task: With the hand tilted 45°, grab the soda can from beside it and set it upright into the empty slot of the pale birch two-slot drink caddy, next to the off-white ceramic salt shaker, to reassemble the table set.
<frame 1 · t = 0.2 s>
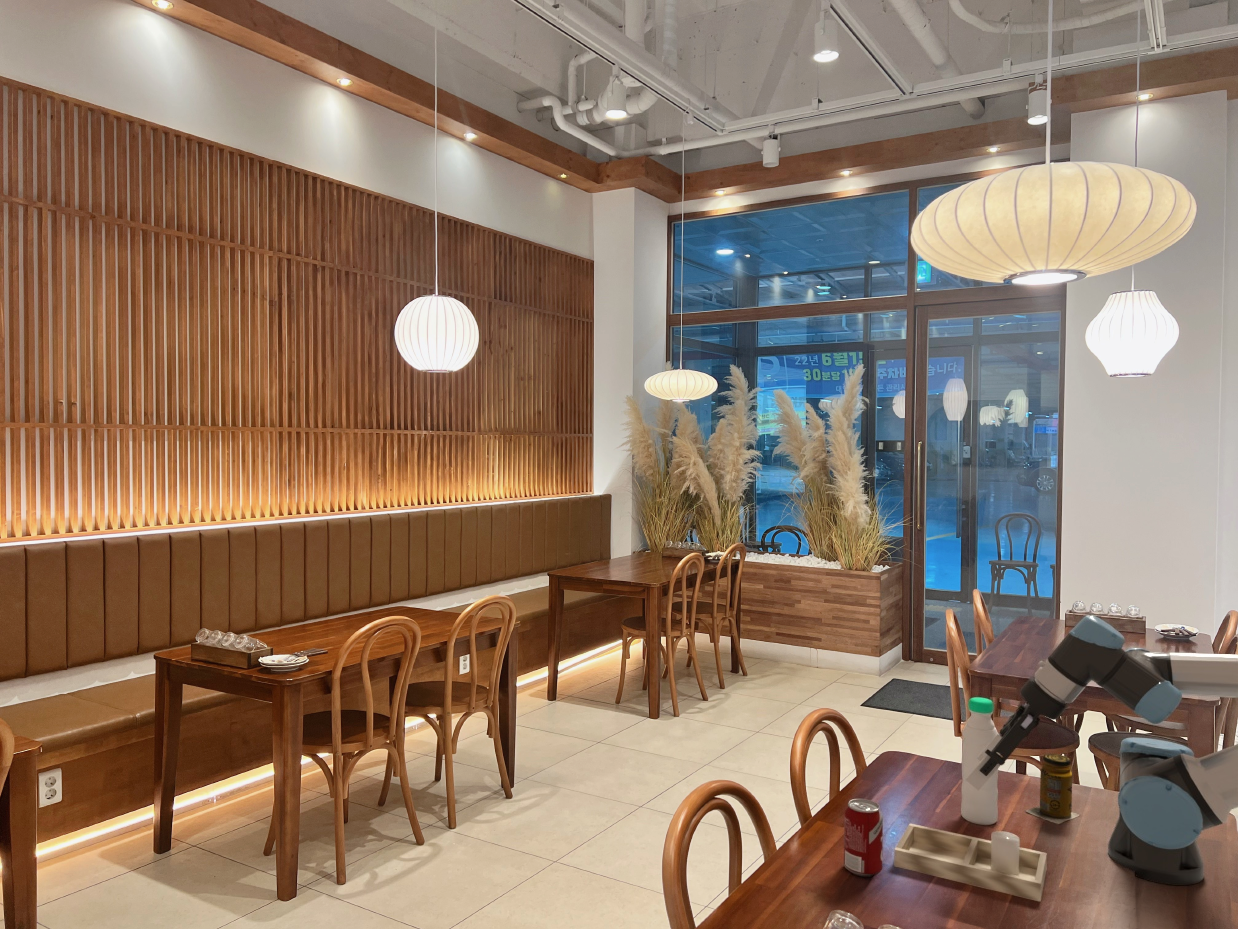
hand: (977, 773, 164), 16 cm above the table, tool tilted 35°, fingers open, 13 cm apart
salt shaker: (1004, 875, 155), point 1 cm above the table, touching drink caddy
condiment: (1052, 815, 184), on the table
drink caddy: (970, 873, 158), on the table
water bottle: (979, 820, 181), on the table
soda can: (862, 871, 158), on the table
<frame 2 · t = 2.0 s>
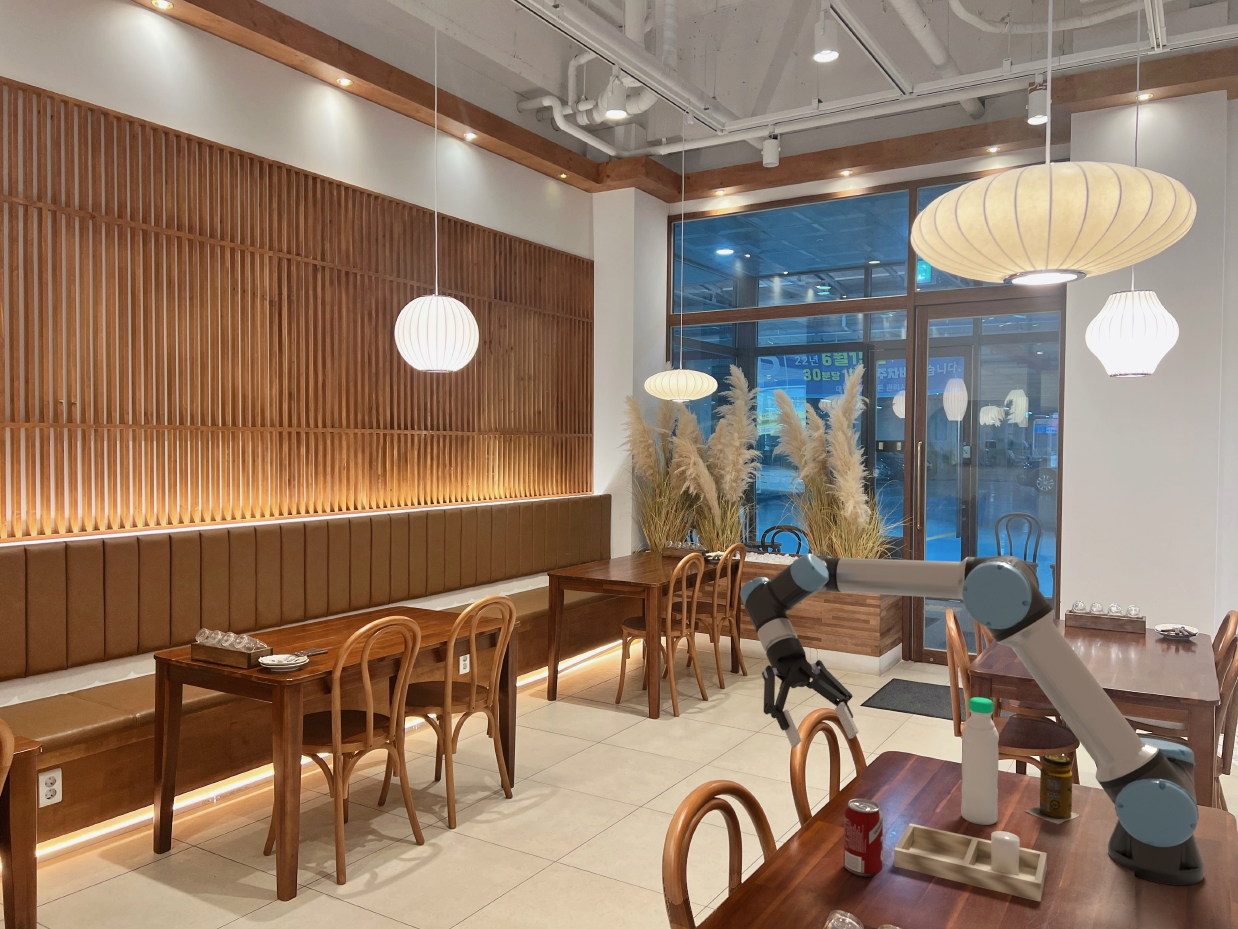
hand: (826, 740, 168), 20 cm above the table, tool tilted 45°, fingers open, 13 cm apart
nothing on the table moved.
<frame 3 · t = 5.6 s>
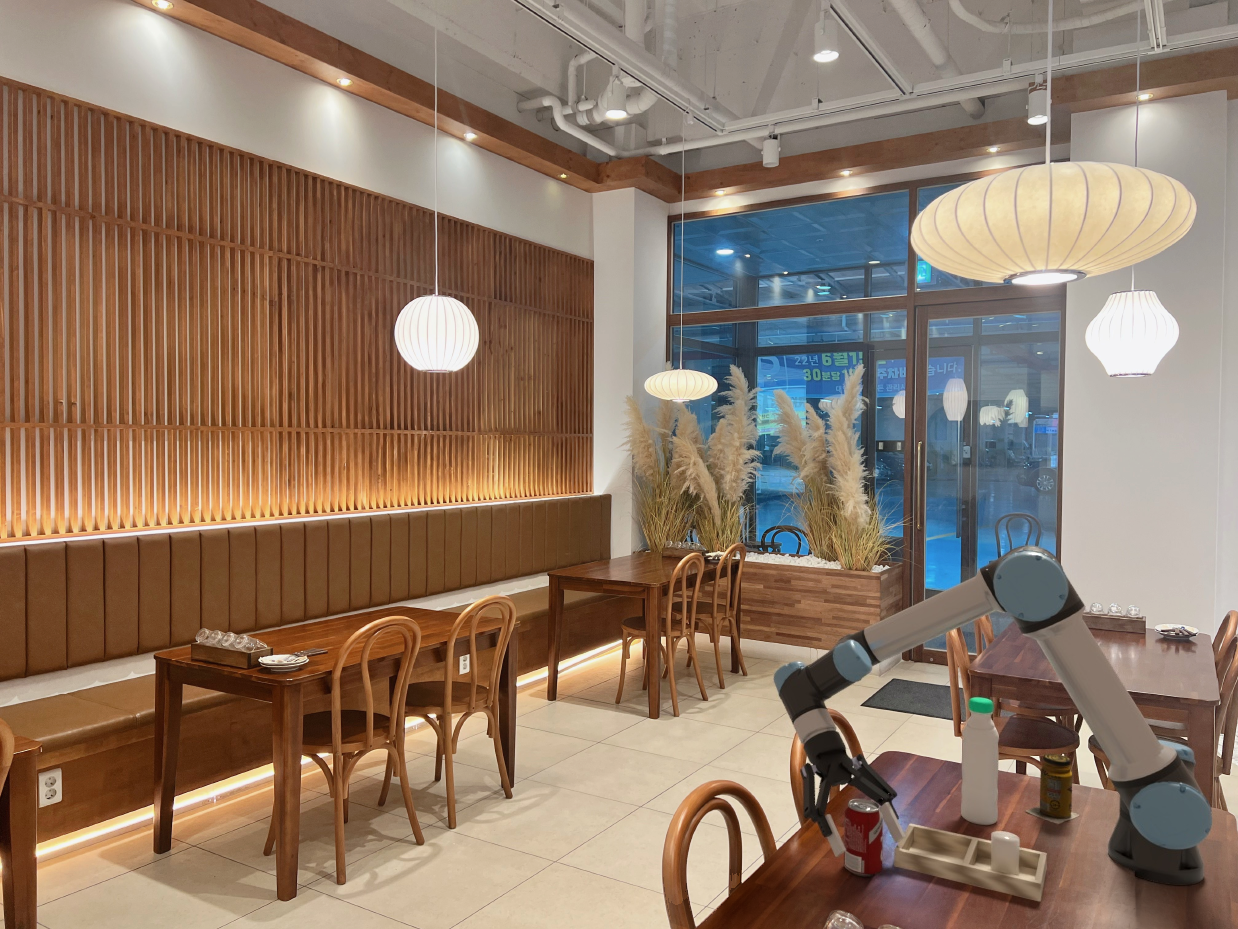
hand: (871, 846, 156), 5 cm above the table, tool tilted 45°, fingers open, 13 cm apart
nothing on the table moved.
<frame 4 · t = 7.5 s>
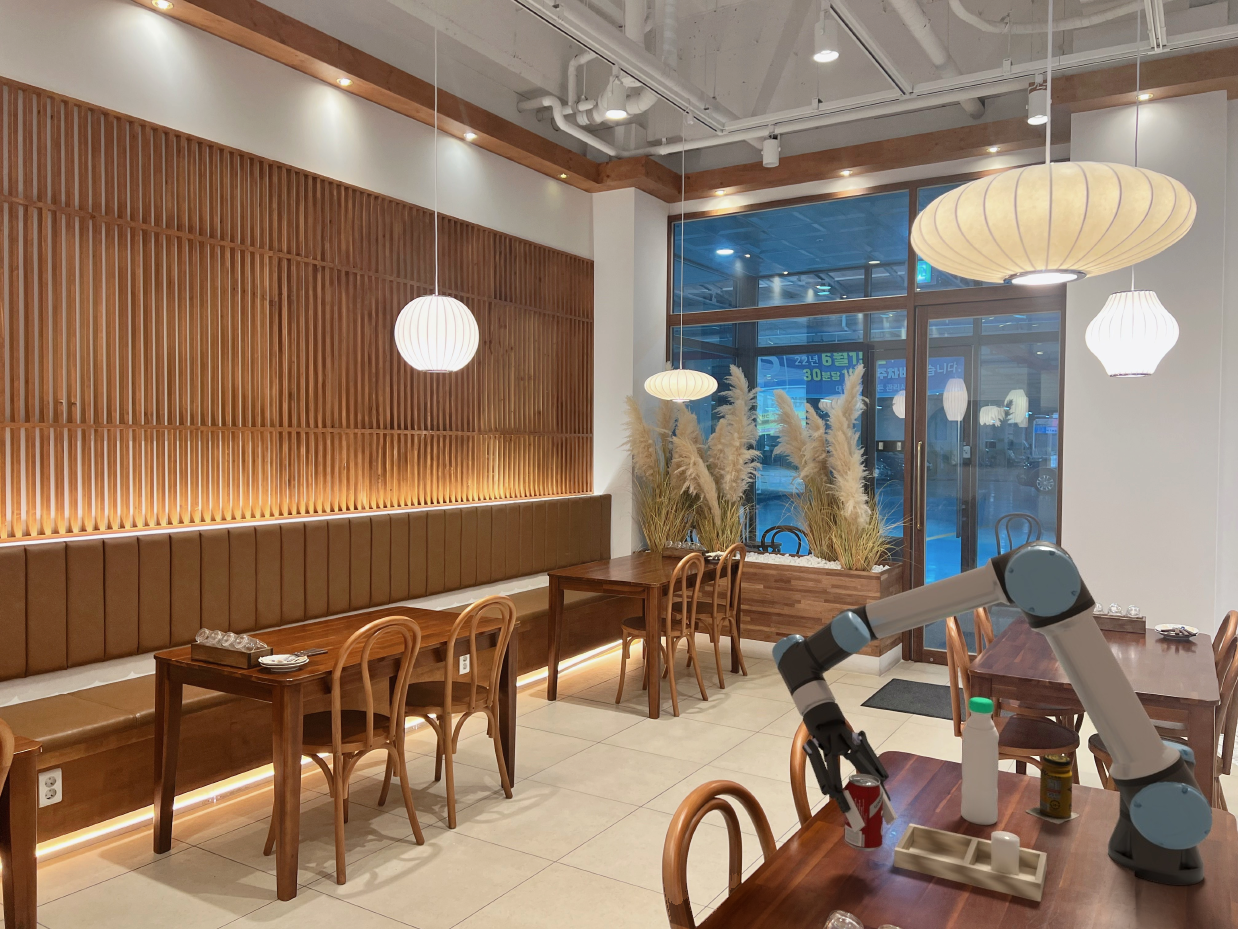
hand: (876, 825, 155), 10 cm above the table, tool tilted 45°, fingers closed on soda can, 7 cm apart
soda can: (862, 846, 158), point 4 cm above the table, touching gripper
everything else where it was.
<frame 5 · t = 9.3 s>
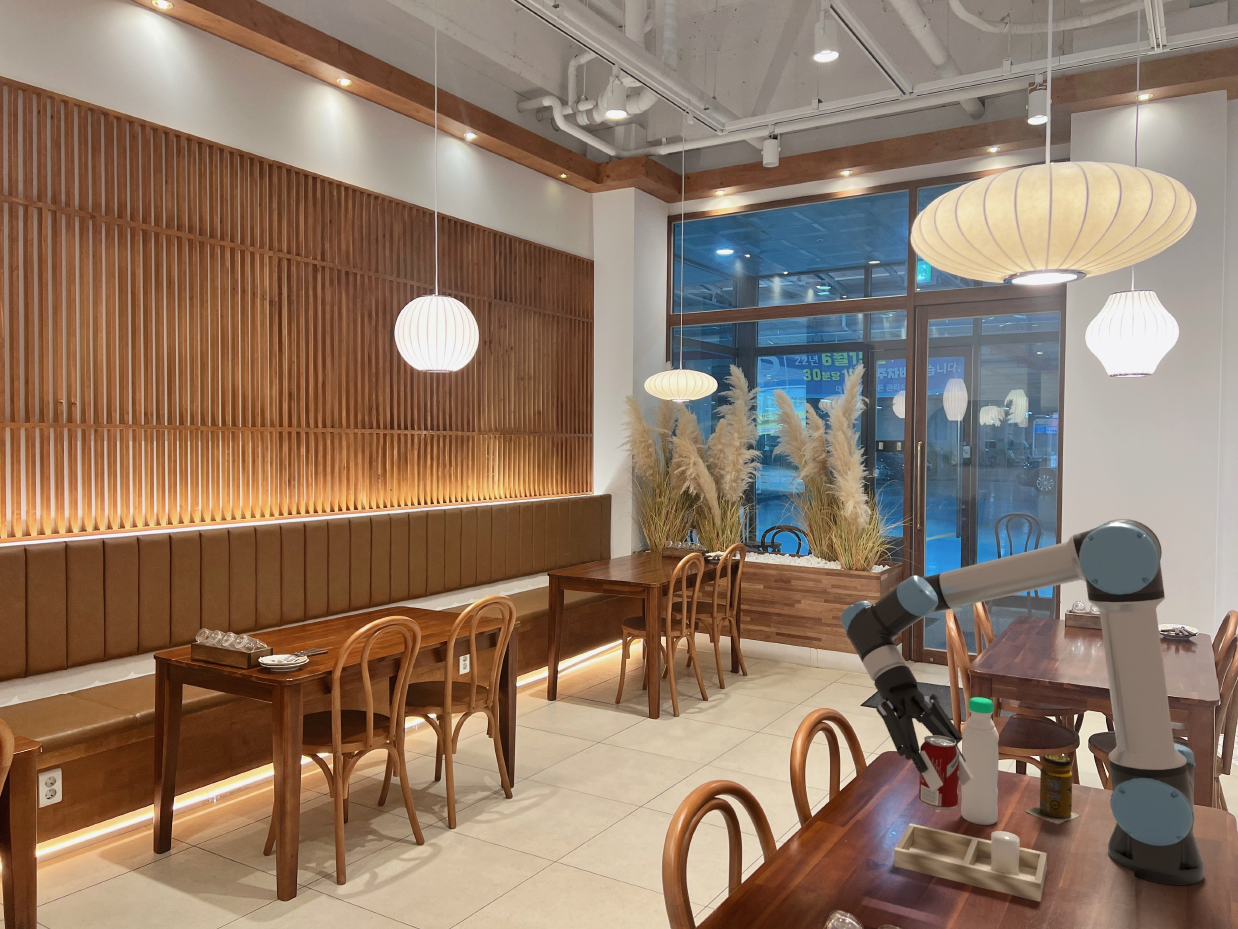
hand: (953, 784, 157), 16 cm above the table, tool tilted 45°, fingers closed on soda can, 7 cm apart
soda can: (938, 806, 160), point 11 cm above the table, touching gripper
everything else where it was.
when the fingers open (6 cm above the table, at t = 11.5 s): soda can stays where it is, resting on drink caddy.
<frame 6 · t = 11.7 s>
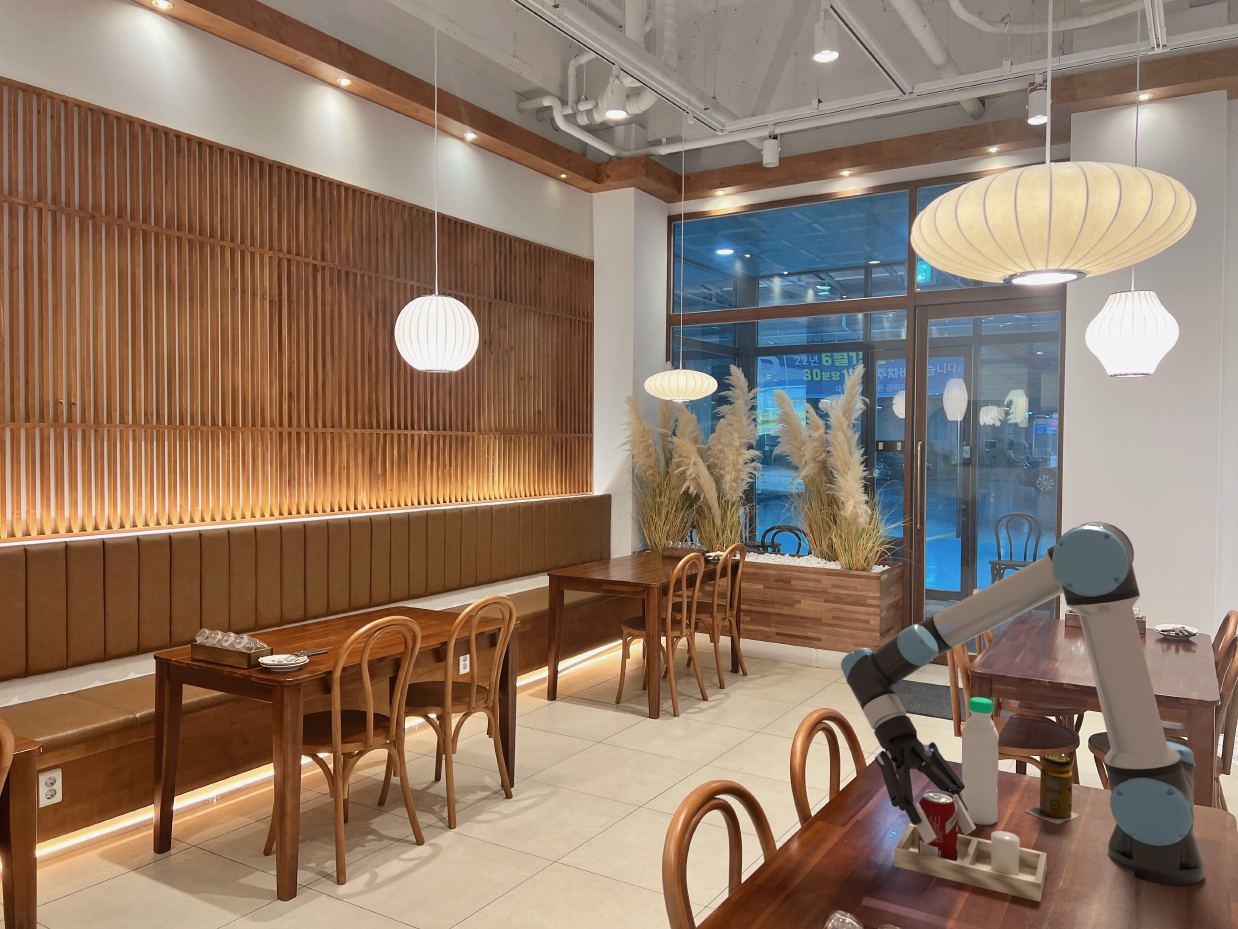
hand: (950, 836, 157), 7 cm above the table, tool tilted 45°, fingers open, 9 cm apart
soda can: (937, 861, 160), point 1 cm above the table, touching drink caddy
everything else where it was.
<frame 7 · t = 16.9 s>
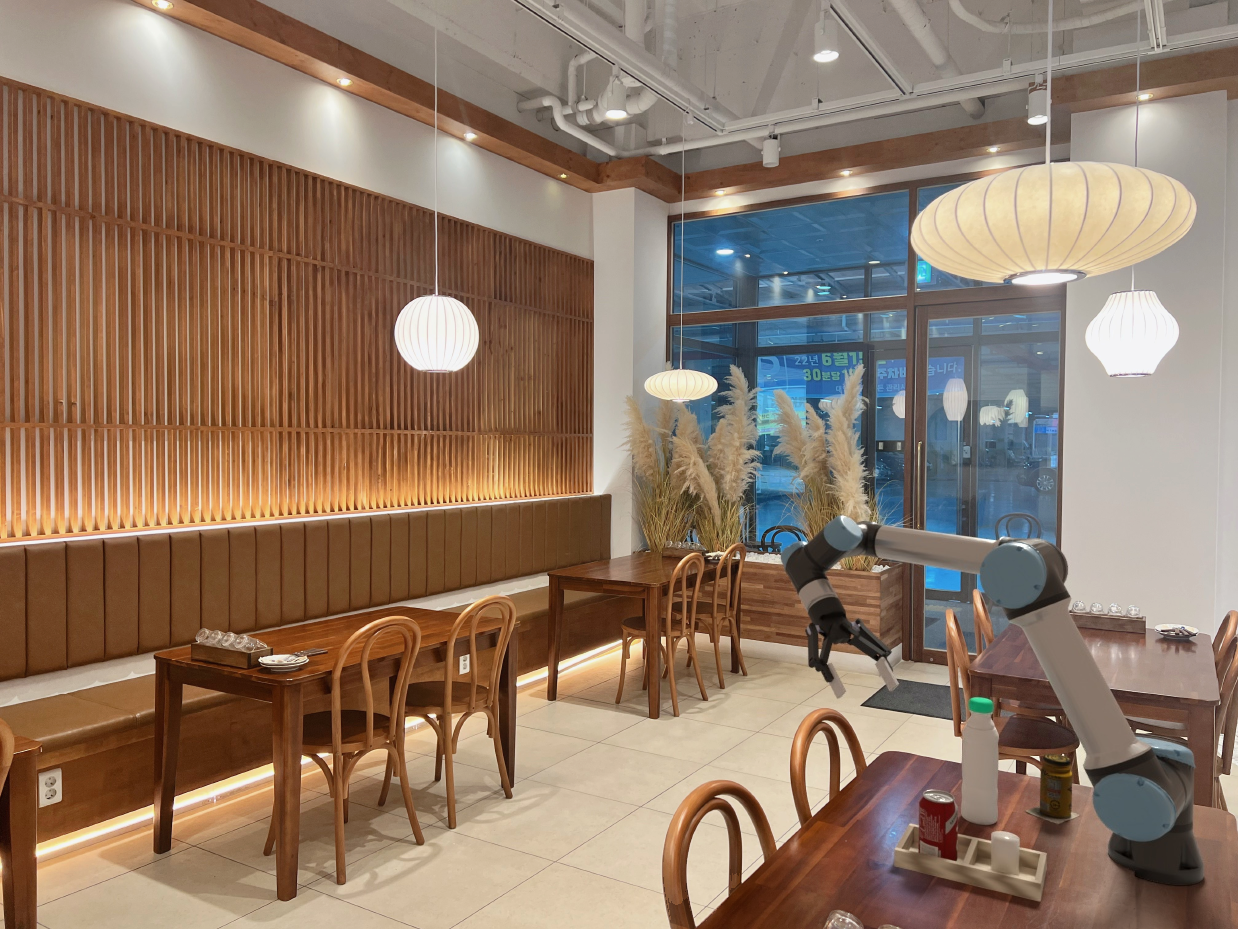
hand: (868, 691, 176), 28 cm above the table, tool tilted 45°, fingers open, 13 cm apart
nothing on the table moved.
at the end: soda can 0.2 cm from the target spot on the drink caddy, point 0.8 cm above the drink caddy's base; soda can tilted 0°; the gripper is holding nothing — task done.
